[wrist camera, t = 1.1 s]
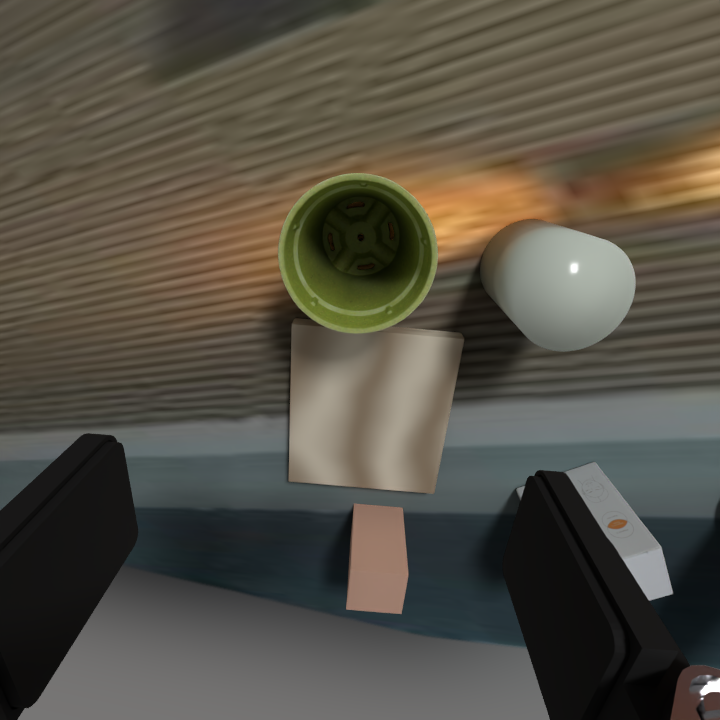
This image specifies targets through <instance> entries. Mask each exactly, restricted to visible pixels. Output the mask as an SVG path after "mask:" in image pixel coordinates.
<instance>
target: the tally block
mask: <svg viewBox="0 0 720 720" xmlns="http://www.w3.org/2000/svg"><path fill="white" fill-rule="evenodd" d="M407 580H408V564H407V553H406V541H405V530H404V518H403V508H399V507H387V506H375V505H363V504H354V510H353V520H352V530H351V540H350V556H349V573H348V589H347V606H346V609H347V610H359V611H371V612H384V613H396V614H401V613H402V607H403V602H404V597H405V591H406V586H407Z"/></svg>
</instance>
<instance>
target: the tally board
mask: <svg viewBox="0 0 720 720" xmlns="http://www.w3.org/2000/svg"><path fill="white" fill-rule="evenodd" d="M463 343H464V338H463V336H462V334H461V333H458V332H447V331H436V330H424V329H413V328H402V327H389V328H386V329H383V330H380V331H376V332H371V333H363V334H350V333H343V332H338V331H335V330H332V329H329V328H327V327H325V326H322V325H321V324H318V323H317V322H315V321H314V320H311V319H299V318H295V319H294V321H293V323H292V335H291V388H290V440H289V481H290V482H302V483H313V484H325V485H337V486H349V487H361V488H373V489H384V490H396V491H408V492H420V493H432V494H434V491H435V486H436V481H437V476H438V471H439V466H440V461H441V455H442V450H443V445H444V440H445V435H446V430H447V425H448V420H449V415H450V410H451V405H452V399H453V394H454V389H455V384H456V379H457V374H458V369H459V364H460V359H461V354H462V349H463Z"/></svg>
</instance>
